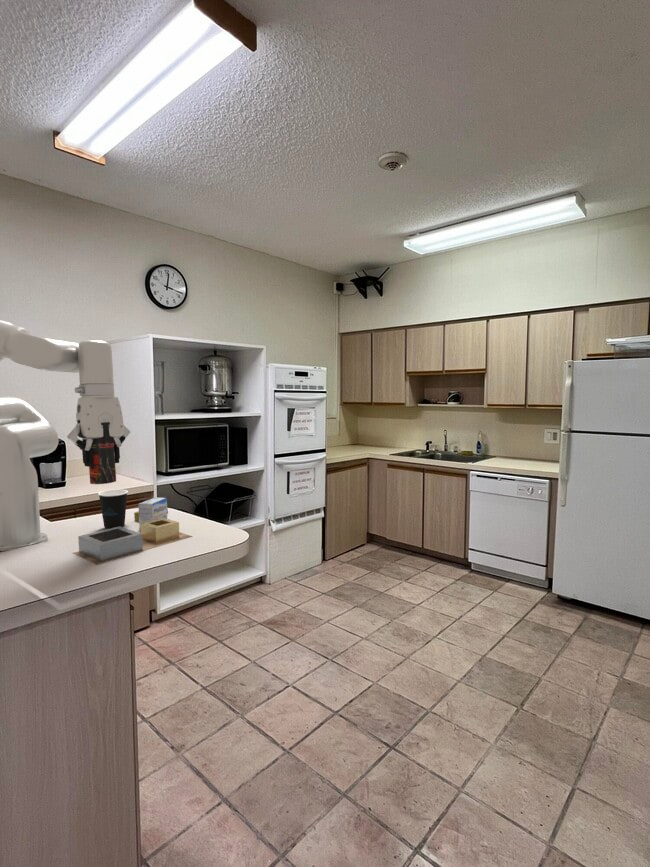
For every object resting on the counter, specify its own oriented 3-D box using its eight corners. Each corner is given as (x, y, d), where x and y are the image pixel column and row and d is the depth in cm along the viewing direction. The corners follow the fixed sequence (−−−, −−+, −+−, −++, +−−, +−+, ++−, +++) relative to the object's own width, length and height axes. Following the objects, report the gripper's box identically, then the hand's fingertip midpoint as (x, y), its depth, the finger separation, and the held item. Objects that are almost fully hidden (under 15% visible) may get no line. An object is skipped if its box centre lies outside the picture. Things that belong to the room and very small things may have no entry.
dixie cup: (124, 523, 141) (123, 488, 140) (132, 530, 135) (131, 492, 134) (96, 528, 136) (94, 491, 135) (103, 535, 130) (101, 496, 129)
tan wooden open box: (141, 538, 124) (140, 523, 124) (164, 532, 130) (163, 517, 129) (156, 543, 120) (155, 528, 120) (179, 536, 125) (178, 522, 125)
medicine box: (153, 534, 131) (152, 503, 131) (138, 533, 132) (138, 503, 131) (168, 526, 139) (167, 497, 138) (154, 525, 140) (153, 496, 139)
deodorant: (120, 481, 117) (116, 421, 115) (95, 485, 112) (91, 423, 111) (110, 478, 121) (107, 421, 120) (86, 482, 117) (82, 422, 115)
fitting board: (72, 557, 113) (72, 553, 113) (166, 531, 133) (166, 528, 133) (97, 568, 106) (96, 564, 105) (192, 539, 126) (192, 536, 126)
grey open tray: (79, 552, 113) (78, 536, 113) (120, 541, 122) (119, 526, 121) (100, 561, 107) (99, 544, 107) (142, 549, 115) (142, 533, 115)
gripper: (68, 392, 106) (74, 470, 107) (138, 391, 119) (142, 461, 121) (53, 392, 110) (58, 468, 112) (121, 391, 124) (126, 459, 125)
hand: (102, 463), depth 116 cm, fingers closed on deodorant, 5 cm apart
